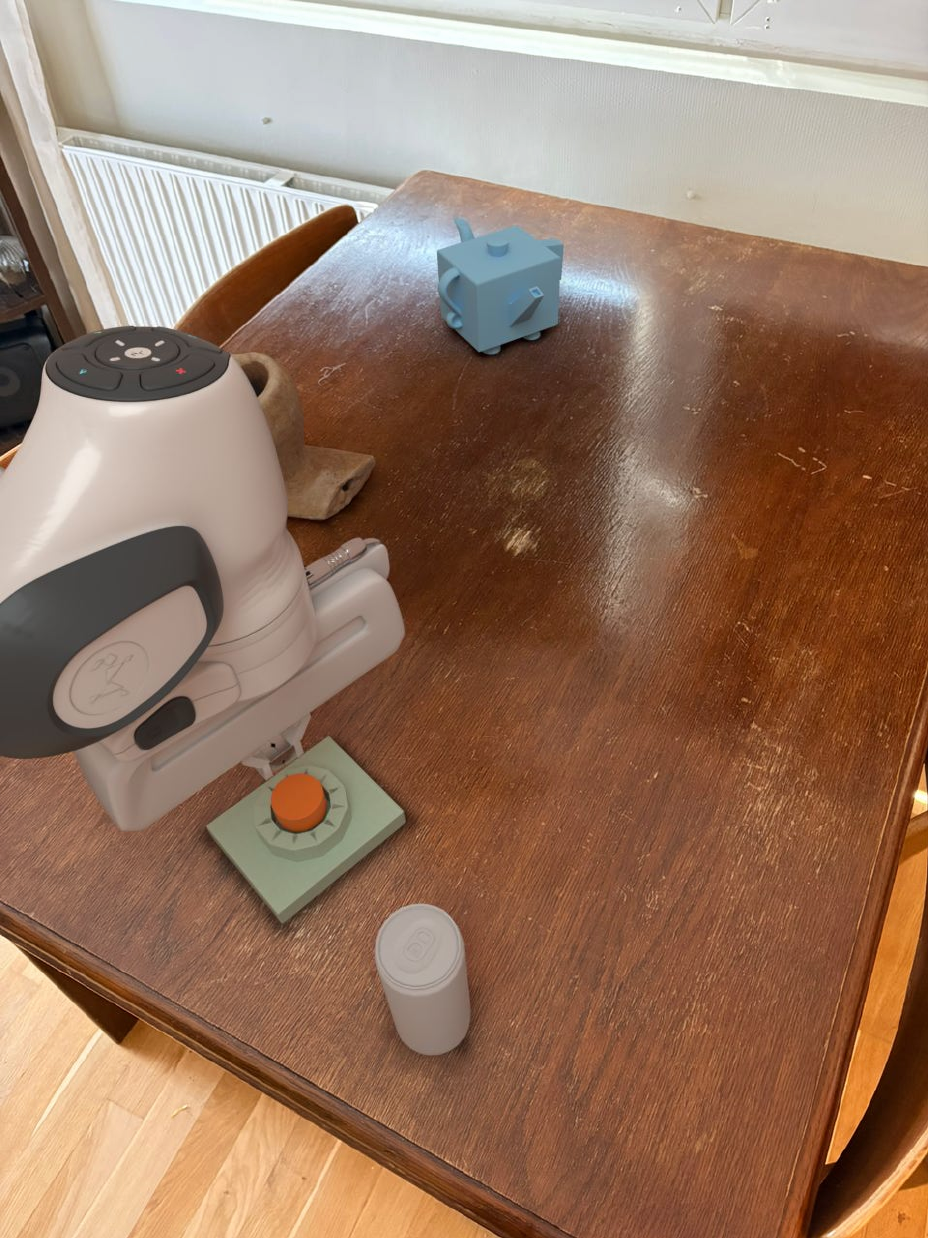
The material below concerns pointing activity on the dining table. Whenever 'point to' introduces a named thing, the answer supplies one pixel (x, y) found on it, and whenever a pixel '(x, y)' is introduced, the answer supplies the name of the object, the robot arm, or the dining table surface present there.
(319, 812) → the button
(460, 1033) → the beverage can
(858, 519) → the dining table surface
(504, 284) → the teapot
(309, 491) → the tan stone pipe
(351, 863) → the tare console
